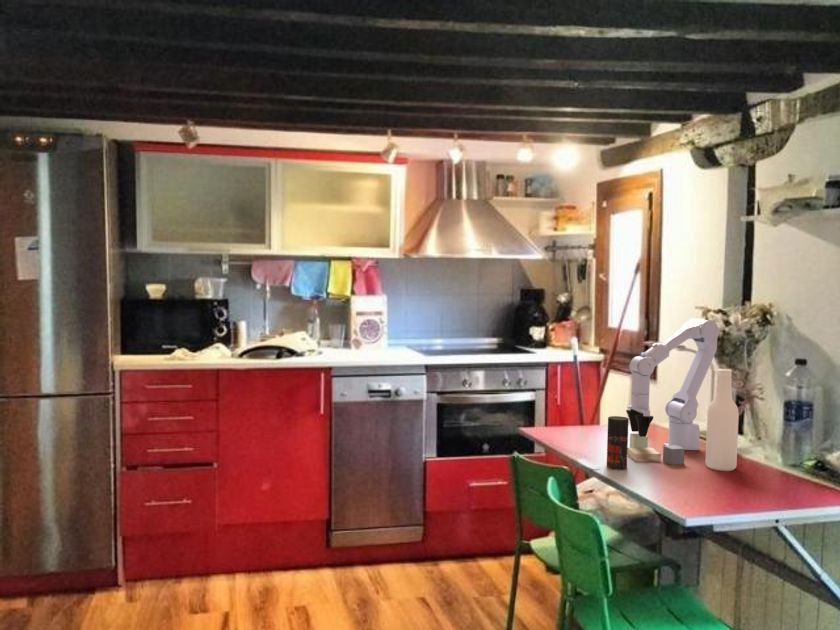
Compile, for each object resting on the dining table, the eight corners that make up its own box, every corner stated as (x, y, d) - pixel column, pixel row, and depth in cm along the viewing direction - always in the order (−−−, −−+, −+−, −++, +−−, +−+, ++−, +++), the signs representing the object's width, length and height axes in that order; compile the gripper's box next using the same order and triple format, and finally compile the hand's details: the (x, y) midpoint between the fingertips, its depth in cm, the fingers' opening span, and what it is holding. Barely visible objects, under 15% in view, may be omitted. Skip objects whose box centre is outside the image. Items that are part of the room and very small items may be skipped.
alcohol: (699, 466, 233) (703, 368, 231) (716, 462, 237) (720, 366, 235) (724, 473, 225) (728, 372, 223) (742, 468, 230) (746, 370, 228)
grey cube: (675, 460, 239) (675, 445, 239) (684, 464, 235) (684, 448, 235) (662, 461, 238) (663, 445, 237) (671, 465, 233) (672, 449, 233)
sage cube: (642, 448, 255) (643, 433, 255) (647, 451, 250) (647, 436, 250) (629, 448, 255) (630, 433, 254) (633, 451, 250) (634, 436, 250)
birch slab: (651, 455, 246) (651, 447, 245) (660, 461, 238) (660, 453, 237) (627, 454, 245) (627, 447, 245) (635, 461, 237) (635, 453, 237)
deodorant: (604, 464, 233) (605, 416, 232) (623, 464, 233) (625, 416, 232) (609, 469, 227) (610, 420, 226) (629, 470, 227) (630, 420, 226)
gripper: (621, 389, 258) (620, 429, 259) (635, 396, 244) (633, 438, 245) (642, 389, 259) (640, 429, 259) (657, 397, 244) (655, 438, 245)
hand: (638, 433), depth 252 cm, fingers open, 7 cm apart
